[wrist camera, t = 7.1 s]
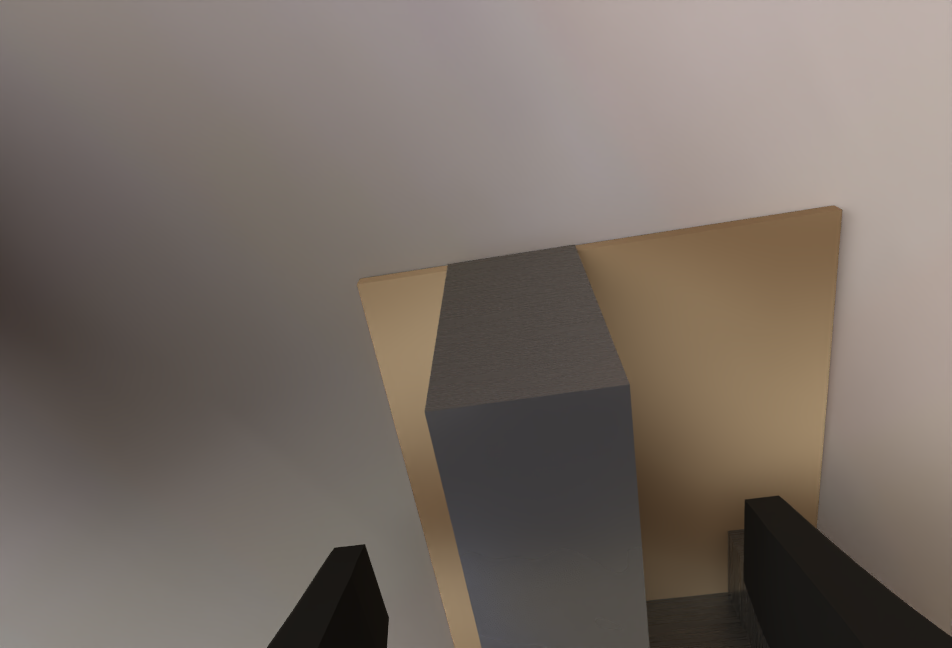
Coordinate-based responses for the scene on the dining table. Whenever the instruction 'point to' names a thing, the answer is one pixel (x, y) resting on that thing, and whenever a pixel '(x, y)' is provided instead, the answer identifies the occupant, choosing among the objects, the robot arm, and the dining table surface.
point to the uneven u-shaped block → (552, 468)
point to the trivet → (663, 385)
